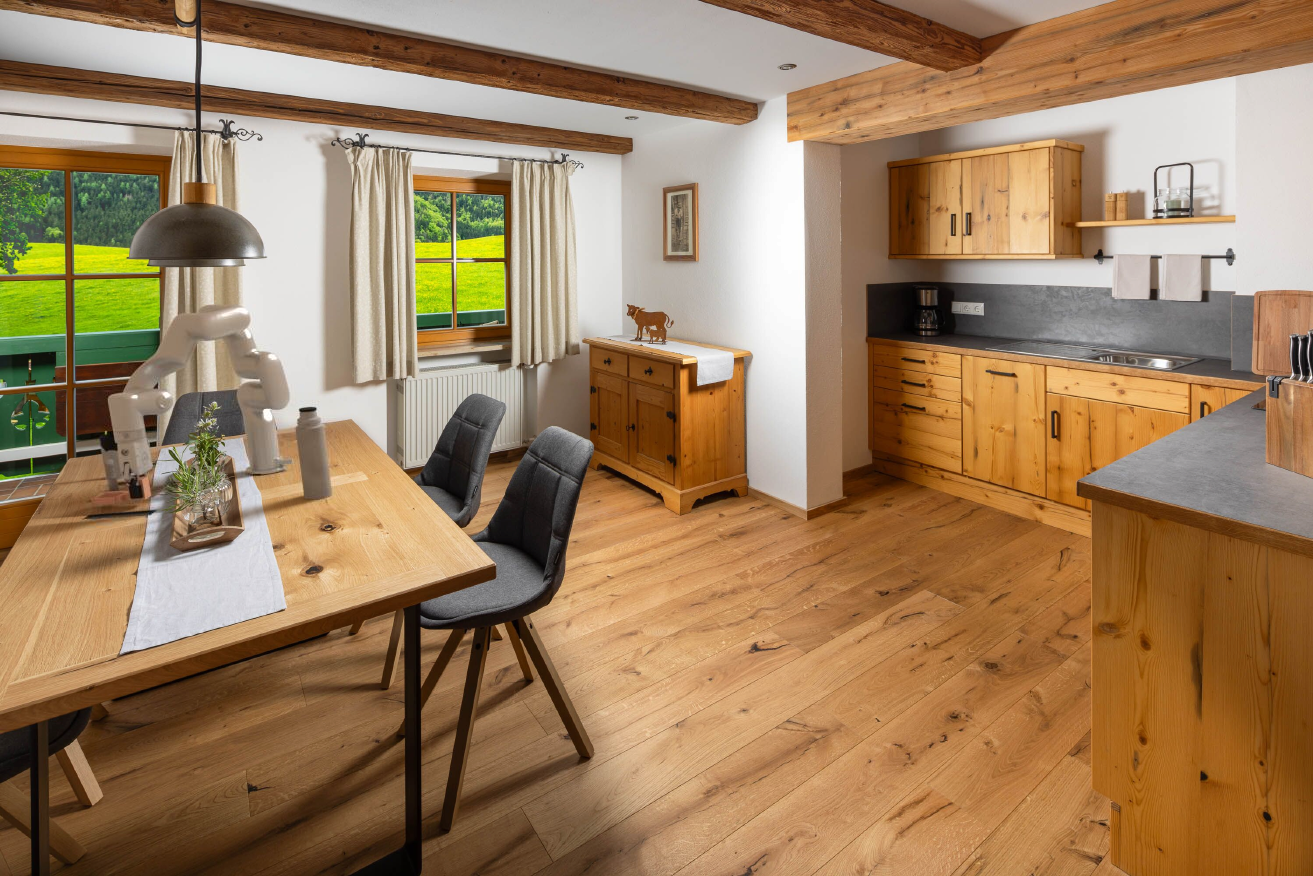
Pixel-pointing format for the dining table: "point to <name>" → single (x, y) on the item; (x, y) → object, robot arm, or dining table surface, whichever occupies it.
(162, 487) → the stand
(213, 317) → the robot arm
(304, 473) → the thermos bottle
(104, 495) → the pink l-shaped piece
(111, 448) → the grey mug
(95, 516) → the slate mat
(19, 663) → the dining table surface
